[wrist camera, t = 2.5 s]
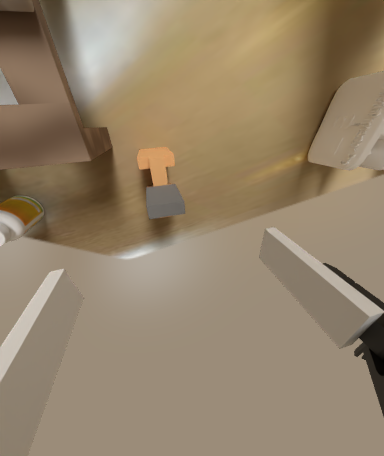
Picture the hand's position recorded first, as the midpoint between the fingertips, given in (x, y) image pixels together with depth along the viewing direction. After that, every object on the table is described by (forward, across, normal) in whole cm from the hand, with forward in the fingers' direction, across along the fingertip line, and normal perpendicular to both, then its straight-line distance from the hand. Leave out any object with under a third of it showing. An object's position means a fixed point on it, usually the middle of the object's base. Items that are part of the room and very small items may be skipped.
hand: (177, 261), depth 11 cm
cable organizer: (+26, +41, +5) cm, 49 cm away
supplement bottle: (+27, -25, -4) cm, 37 cm away
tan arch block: (+26, 0, 0) cm, 27 cm away
